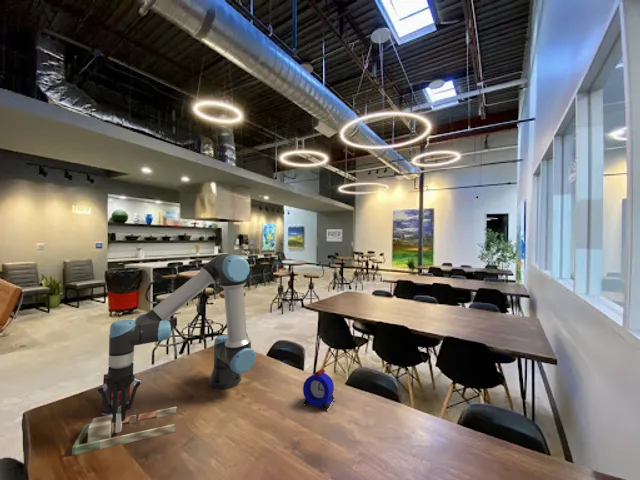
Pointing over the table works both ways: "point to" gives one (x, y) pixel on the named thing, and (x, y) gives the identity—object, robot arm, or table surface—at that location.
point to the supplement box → (112, 397)
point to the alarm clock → (318, 390)
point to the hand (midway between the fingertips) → (118, 430)
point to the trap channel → (125, 438)
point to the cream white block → (100, 428)
